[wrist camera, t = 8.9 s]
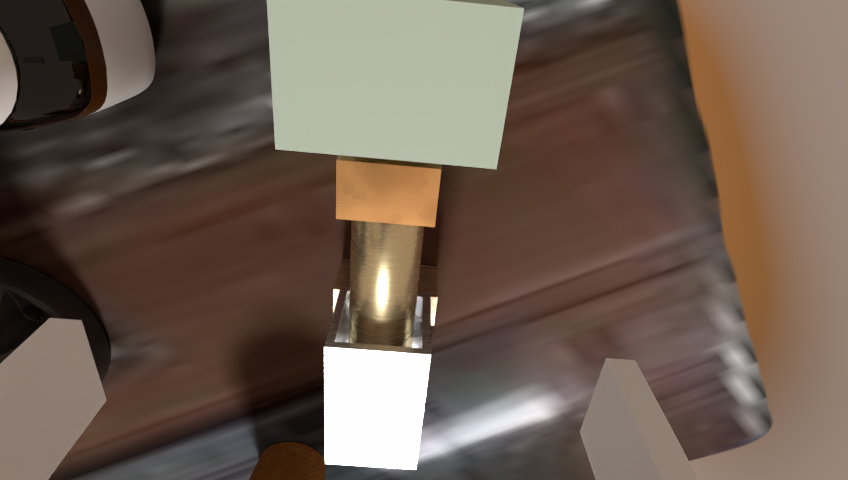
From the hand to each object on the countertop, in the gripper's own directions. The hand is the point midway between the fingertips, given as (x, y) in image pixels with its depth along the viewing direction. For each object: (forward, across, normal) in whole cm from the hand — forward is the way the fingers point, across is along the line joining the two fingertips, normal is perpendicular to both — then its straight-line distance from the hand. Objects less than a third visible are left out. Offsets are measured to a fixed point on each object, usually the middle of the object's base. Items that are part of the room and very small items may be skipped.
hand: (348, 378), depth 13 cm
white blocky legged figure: (+22, 0, -14) cm, 26 cm away
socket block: (+22, 0, +6) cm, 22 cm away
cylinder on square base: (+17, 0, -5) cm, 18 cm away
